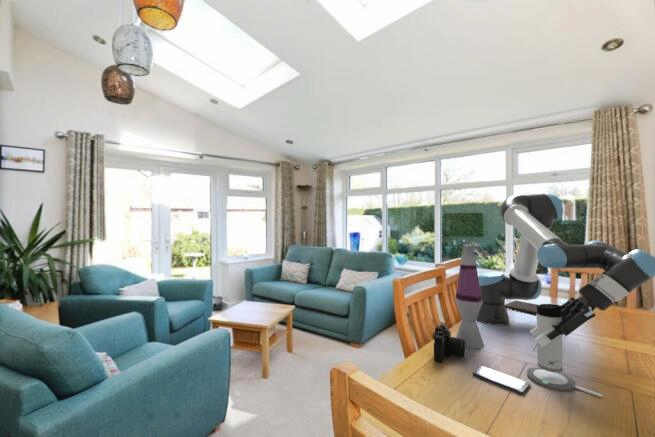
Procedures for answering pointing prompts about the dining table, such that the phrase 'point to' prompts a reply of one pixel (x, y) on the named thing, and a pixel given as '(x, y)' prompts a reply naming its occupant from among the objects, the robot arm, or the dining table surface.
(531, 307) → the hardcover book
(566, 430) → the dining table surface
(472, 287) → the lamp
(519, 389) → the phone
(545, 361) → the travel mug
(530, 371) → the charging pad
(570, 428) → the dining table surface
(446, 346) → the camera
